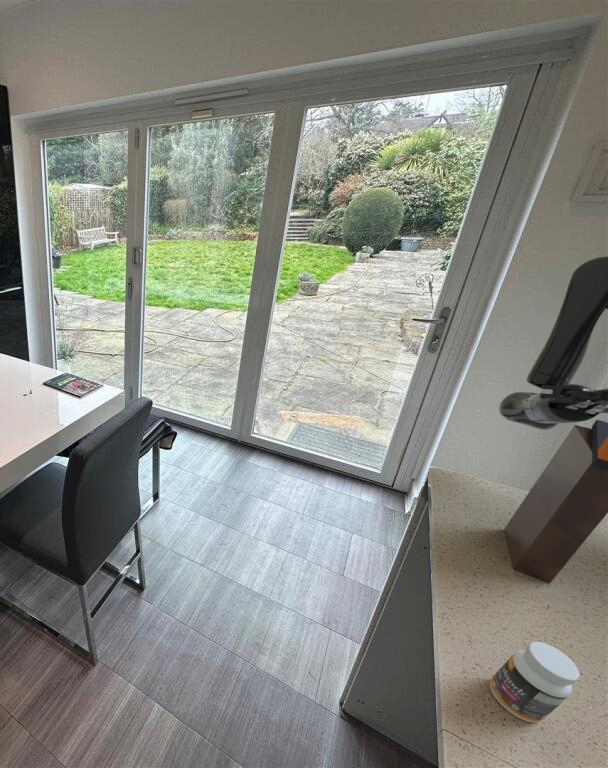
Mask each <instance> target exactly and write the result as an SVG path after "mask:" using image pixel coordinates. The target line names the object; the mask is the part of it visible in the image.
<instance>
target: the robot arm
mask: <svg viewBox="0 0 608 768" xmlns="http://www.w3.org/2000/svg"><path fill="white" fill-rule="evenodd" d="M605 310H607V311H608V255H605V256H598V257H594V258H591V259H588V260H587V261H585V262H583V263H582V264H580V265H579V266H578V267H576V269H575V270H574V271H573V272H572V274H571V276H570V279H569V281H568V284H567V287H566V291H565V295H564V297H563V301H562V304H561V307H560V309H559V313H558V314H557V317H556V319H555V322H554V325H553V326H552V328H551V331H550V333H549V335H548V337H547V338H546V341H545V343H544V345H543V346H542V348H541V350H540V352H539V353H538V356H537V357H536V359H535V360H534V362H533V364H532V366H531V368H530V370H529V372H528V373H527V375H526V378H525V381H526V383H527V384H528V385H530V386H533V387H535V388H537V389H540V392H539V393H538V392H531V391H530V392H528V391H516V392H512V393H510V394H508V395H506V396H505V397H504V398H502V400H501V401H500V402H499V405H498V412H499V414H500V416H501V417H502V418H504V419H505V420H508V421H511V422H512V423H513V422H514V423H517V424H520V425H523V426H527V427H531V428H534V429H537V430H543V431H547V430H551V429H553V428H556V427H557V426H558V425H560V424H570V423H571V424H573V423H581V422H585V421H589V420H592V419H593V418H595V417H597V416H598V415H600V414H608V388H604V389H592V388H591V387H588V386H586V385H582V384H577V383H576V384H575V383H572V381H573V379H574V378H575V376H576V374H577V373H578V371H579V369H580V368H581V366H582V364H583V361H584V360H585V357H586V355H587V353H588V352H587V351H588V349H589V345H590V342H591V338H592V335H593V332H594V329H595V327H596V326H597V323H598V321H599V319H600V318H601V316H602V314H603V313H604V312H605Z"/></svg>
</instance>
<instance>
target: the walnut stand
mask: <svg viewBox="0 0 608 768" xmlns="http://www.w3.org/2000/svg"><path fill="white" fill-rule="evenodd" d="M607 515H608V471H606V470H603V469H600V468H597V467H594V466H592V428H590V427H586V426H582V425H577V424H574V425H573V427H572V428H571V429H570V431H569V432H568V434H567V435H566V437H565V438H564V440H563V441H562V443H560V446H559V447H558V449H557V450H556V452H555V453H554V454H553V456H552V458H551V459H550V460H549V462H548V464H547V465H546V467H545V468H544V469H543V471H542V472H541V474H540V475H539V477H538V478H537V480H536V481H535V483H534V484H533V485H532V487H531V488H530V490H529V492H528V493H527V494H526V496H525V497H524V499H523V500H522V502H521V503H520V505H519V506H518V507H517V509H516V510H515V512H514V514H513V515H512V516H511V518H510V520H509V521H508V522H507V524H506V526H505V527H504V529H503V531H504V535H505V540H506V543H507V548H508V552H509V556H510V560H511V565H512V569H513V570H515V571H517V572H520V573H523V574H525V575H528V576H529V577H531V578H532V577H533V578H535V579H538V580H540V581H543V582H546V583H548V584H551V583H552V582H553V580H554V579H555V578H556V577H557V576H558V575H559V573H560V572H561V571H562V569H563V568H564V567H565V566H566V565H567V563H568V562H569V561H570V560H571V558H572V557H573V556H574V555H575V554H576V552H577V551H578V550H580V549H579V548H580V547H581V546H582V545H583V544H584V543H585V541H587V539H588V538H589V536H591V534H592V533H593V531H594V530H595V529H596V528H597V527H598V525H599V524H600V523H601V522H602V521H603V519H604V518H605V517H606V516H607Z"/></svg>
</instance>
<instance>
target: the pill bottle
mask: <svg viewBox="0 0 608 768" xmlns="http://www.w3.org/2000/svg"><path fill="white" fill-rule="evenodd" d="M580 677H581V676H580V671H579V668H578V667H577V665H576V664H575V662H574V661H572V660H571V659H570V657H568V656H567V655H566V654H565V653H564V652H562V651H561V650H560V649H557V648H556V647H554V646H552V645H550V644H548V643H545V642H541V641H533V642H530V644H528V645H527V646H526V647H525V648H524V649H520V650H517V651H515V652H514V653H512V654H511V656H510V657H508V659H507V660H506V662H504V663H503V665H501V667H500V668H499V669H498V670H497V671H496V672H495V673H494V674H493V675H492V677H491V678H490V680H489V688H490V691H491V694H492V695H493V697H494V698H495V700H496V701H497V702H498V703H499V704H500V705H501V706H502V707H503V708H504V709H505V710H506V711H507V712H508V713H510V714H511V715H513V716H514V717H516V718H518V719H520V720H522V721H525V722H528V723H540V722H542V721H543V720H545V719H546V718H547V717H548V716H549V715H550V714H551V713H552V712H554V710H556V709H557V708H558V707H559V706H560V705H562V704H563V703H564V702H565V700H567V698H569V697H570V696H571V694H572V692H573V685H574V684H575V683H576V682H577V681H579V678H580Z"/></svg>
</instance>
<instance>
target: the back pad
mask: <svg viewBox="0 0 608 768" xmlns="http://www.w3.org/2000/svg"><path fill="white" fill-rule="evenodd" d="M591 429H592V466H594V467H597V468H600V469H603V470H606V471H608V422H607V421H603V420H600V419H596V420H595V421H594V422H593V424H592V425H591Z"/></svg>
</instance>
